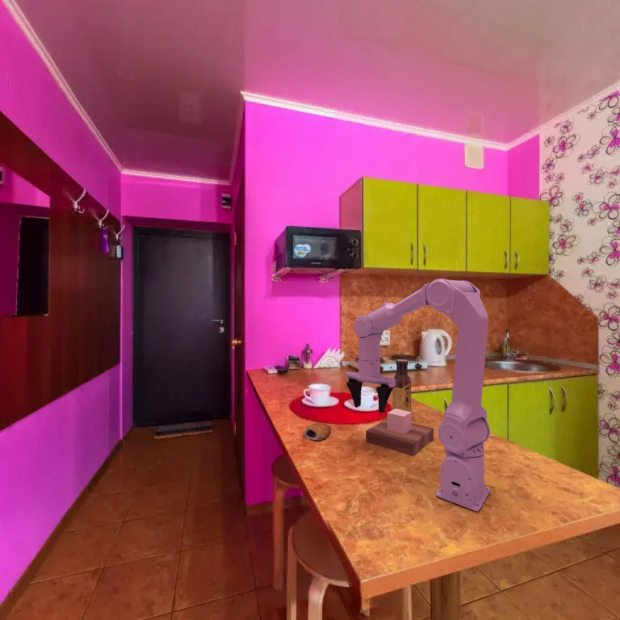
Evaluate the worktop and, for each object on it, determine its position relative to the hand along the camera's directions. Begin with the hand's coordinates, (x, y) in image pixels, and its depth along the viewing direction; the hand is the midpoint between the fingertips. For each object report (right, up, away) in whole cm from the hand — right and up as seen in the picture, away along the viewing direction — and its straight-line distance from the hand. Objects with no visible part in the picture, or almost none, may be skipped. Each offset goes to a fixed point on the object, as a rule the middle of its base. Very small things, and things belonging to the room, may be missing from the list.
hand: (369, 409), depth 88 cm
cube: (+9, -7, +5) cm, 13 cm away
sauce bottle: (+16, -10, +24) cm, 30 cm away
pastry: (-14, -11, +9) cm, 20 cm away
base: (+10, -10, +5) cm, 15 cm away
